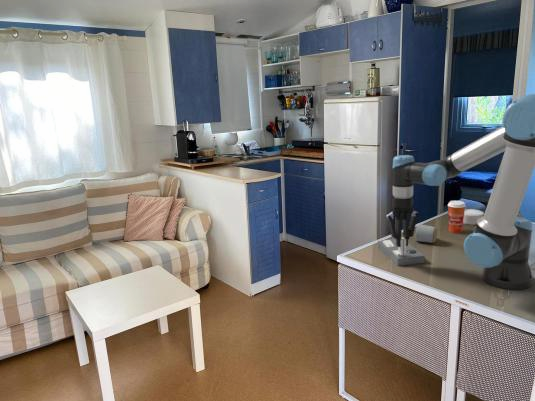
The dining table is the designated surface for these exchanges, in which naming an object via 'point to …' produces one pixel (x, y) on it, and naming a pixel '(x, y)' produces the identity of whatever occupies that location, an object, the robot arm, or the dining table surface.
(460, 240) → the dining table surface
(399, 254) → the rocker
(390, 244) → the rocker
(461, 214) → the paper cup
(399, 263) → the rocker switch box
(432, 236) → the ceramic mug
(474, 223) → the ramekin
